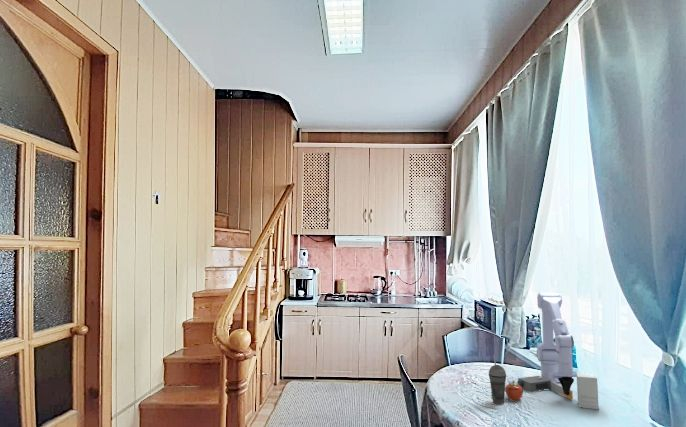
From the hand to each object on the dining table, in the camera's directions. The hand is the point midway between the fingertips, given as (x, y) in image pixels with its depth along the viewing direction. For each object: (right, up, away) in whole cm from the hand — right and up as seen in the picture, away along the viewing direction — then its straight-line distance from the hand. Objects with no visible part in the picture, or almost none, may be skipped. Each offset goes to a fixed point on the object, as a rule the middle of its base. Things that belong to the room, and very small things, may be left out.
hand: (566, 394), depth 195 cm
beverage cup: (-30, -2, -3) cm, 31 cm away
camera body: (-7, -3, +15) cm, 17 cm away
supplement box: (+5, -2, -8) cm, 10 cm away
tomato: (-22, -3, +1) cm, 22 cm away
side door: (+1, -2, +6) cm, 6 cm away
